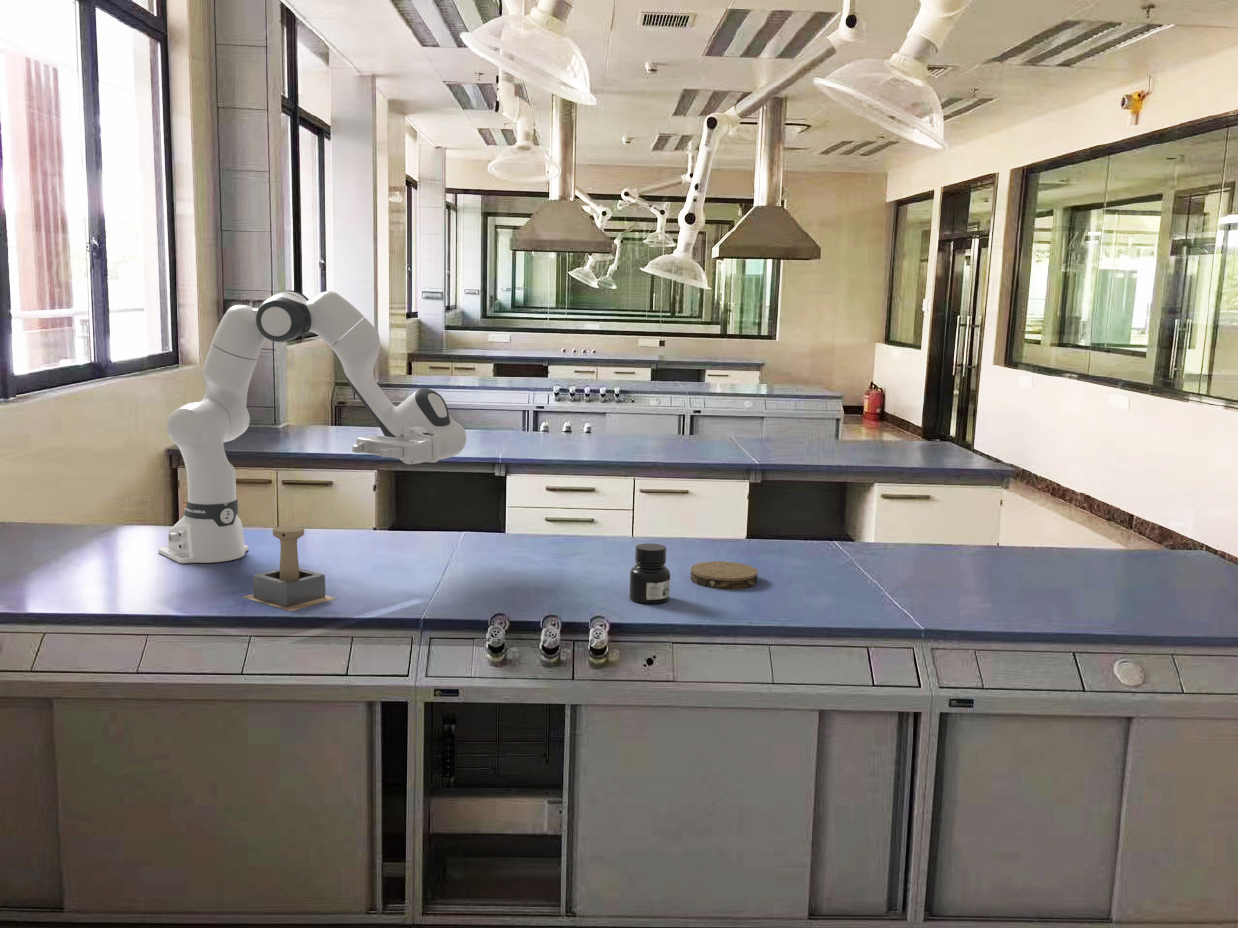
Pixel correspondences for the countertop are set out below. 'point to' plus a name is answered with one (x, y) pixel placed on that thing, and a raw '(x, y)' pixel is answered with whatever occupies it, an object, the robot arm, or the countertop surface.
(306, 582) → the square frame
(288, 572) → the handle
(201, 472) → the robot arm
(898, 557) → the countertop surface
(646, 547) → the ink bottle
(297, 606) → the base board
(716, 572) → the brown round disc
